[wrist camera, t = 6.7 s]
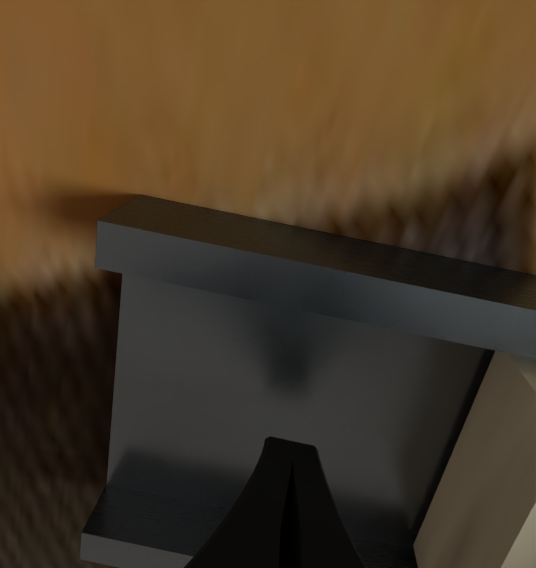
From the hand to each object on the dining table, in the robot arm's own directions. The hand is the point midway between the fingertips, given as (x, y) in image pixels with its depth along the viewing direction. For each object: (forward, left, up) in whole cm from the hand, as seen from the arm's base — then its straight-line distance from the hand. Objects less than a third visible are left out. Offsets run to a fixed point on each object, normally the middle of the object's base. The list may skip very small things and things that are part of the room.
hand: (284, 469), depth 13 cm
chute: (-2, -3, -3) cm, 5 cm away
